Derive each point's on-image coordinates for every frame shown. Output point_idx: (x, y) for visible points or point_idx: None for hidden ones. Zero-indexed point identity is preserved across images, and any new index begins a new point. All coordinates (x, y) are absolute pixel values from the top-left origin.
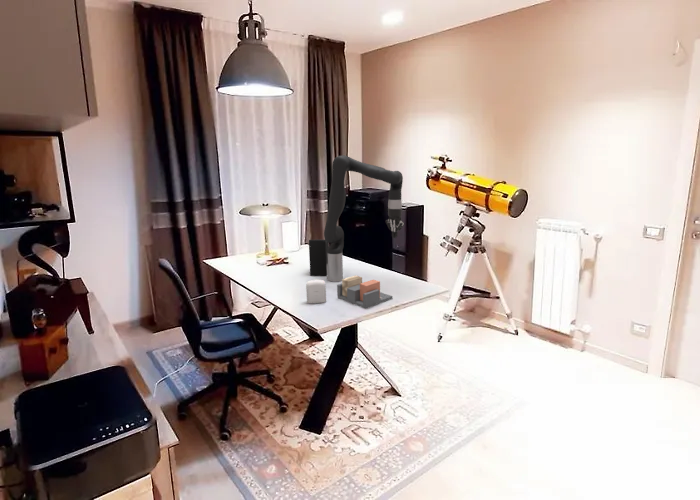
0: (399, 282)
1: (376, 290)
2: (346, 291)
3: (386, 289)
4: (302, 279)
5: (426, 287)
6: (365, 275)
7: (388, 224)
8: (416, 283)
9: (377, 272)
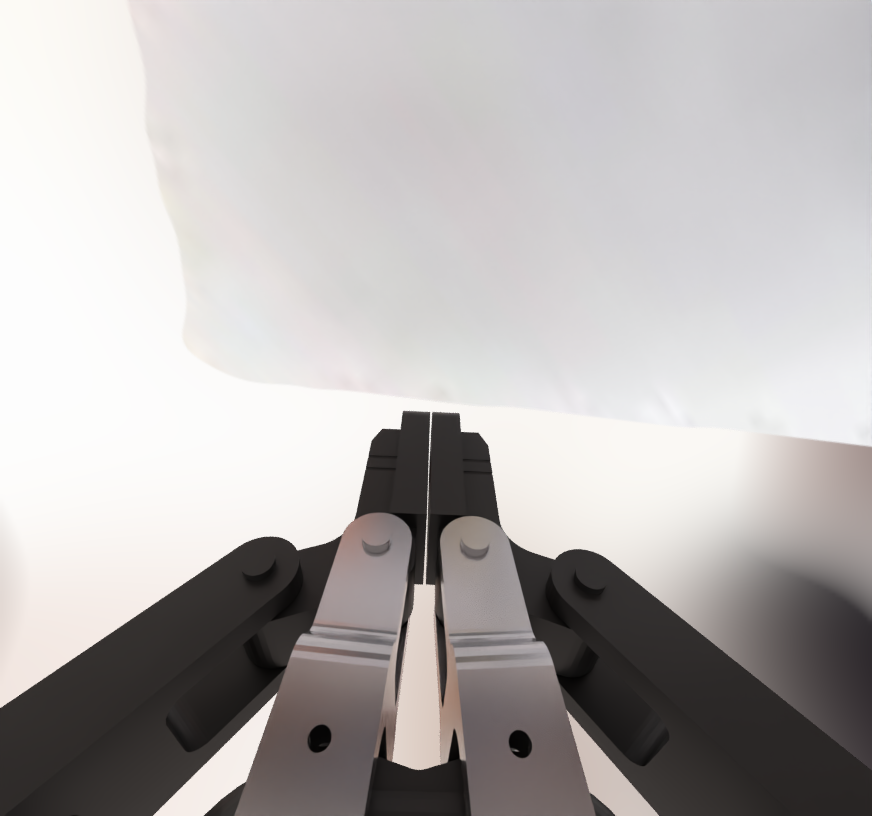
0: (458, 311)
1: None
2: None
3: (433, 121)
4: None
5: (283, 342)
6: (734, 275)
7: (739, 764)
8: (371, 360)
9: (682, 371)
